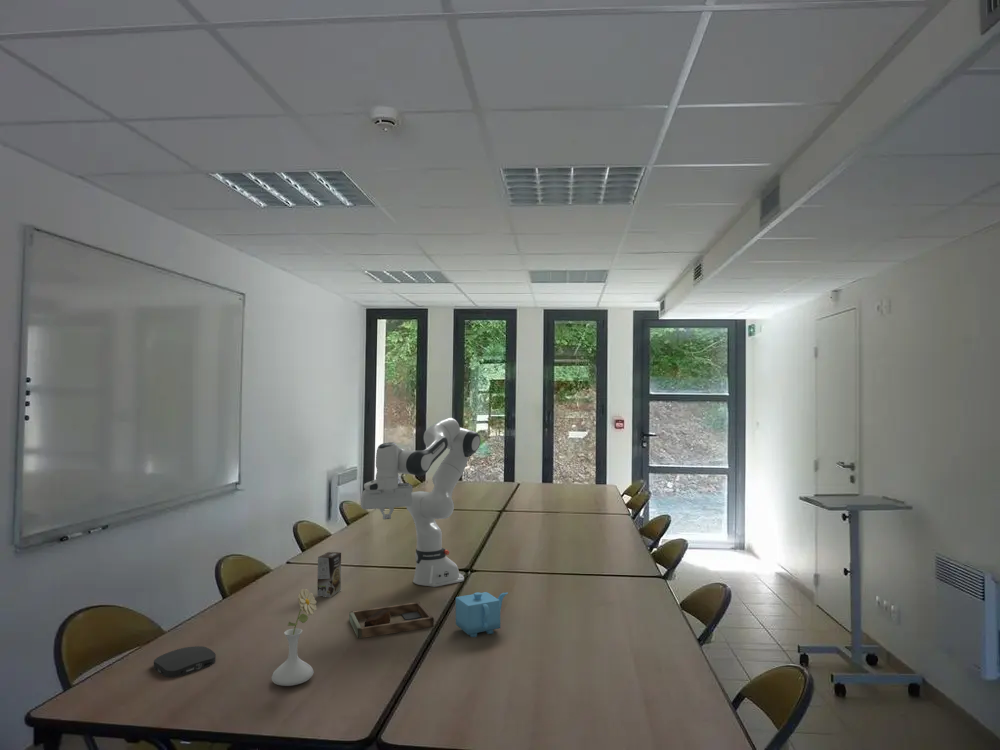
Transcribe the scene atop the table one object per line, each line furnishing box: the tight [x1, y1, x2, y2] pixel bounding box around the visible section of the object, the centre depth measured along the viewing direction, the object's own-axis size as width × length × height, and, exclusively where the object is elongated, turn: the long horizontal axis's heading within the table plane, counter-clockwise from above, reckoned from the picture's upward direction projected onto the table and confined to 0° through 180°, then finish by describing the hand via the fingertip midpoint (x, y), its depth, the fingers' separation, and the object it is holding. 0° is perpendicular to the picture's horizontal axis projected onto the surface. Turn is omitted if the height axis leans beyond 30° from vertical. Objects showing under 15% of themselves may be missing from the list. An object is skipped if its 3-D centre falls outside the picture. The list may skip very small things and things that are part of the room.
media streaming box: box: [153, 645, 216, 678], centre depth 181 cm, size 15×15×3 cm
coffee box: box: [316, 551, 342, 598], centre depth 247 cm, size 9×6×16 cm
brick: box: [363, 610, 391, 627], centre depth 210 cm, size 11×4×5 cm, turn 158°
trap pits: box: [400, 611, 422, 621], centre depth 217 cm, size 6×14×1 cm, turn 23°
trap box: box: [348, 601, 435, 639], centre depth 214 cm, size 26×18×3 cm
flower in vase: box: [270, 588, 317, 687], centre depth 171 cm, size 13×11×25 cm
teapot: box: [455, 591, 509, 638], centre depth 208 cm, size 18×16×13 cm
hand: (386, 519), depth 236 cm, fingers closed
